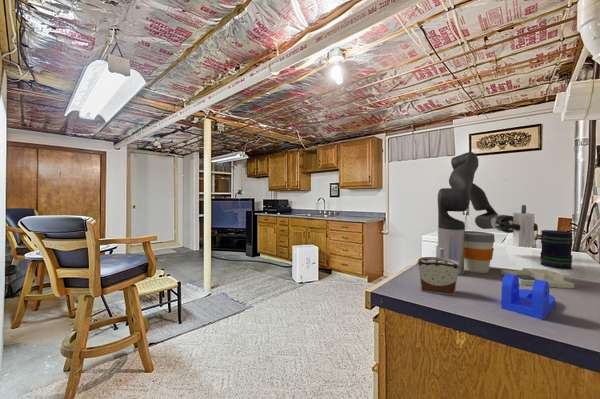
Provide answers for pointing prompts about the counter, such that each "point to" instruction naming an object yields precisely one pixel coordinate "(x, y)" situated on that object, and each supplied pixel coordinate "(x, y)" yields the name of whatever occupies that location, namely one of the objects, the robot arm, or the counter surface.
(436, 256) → the robot arm
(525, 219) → the plug
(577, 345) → the counter surface
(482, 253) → the reusable coffee cup
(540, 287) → the bracket
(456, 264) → the food container
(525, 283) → the board
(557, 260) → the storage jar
